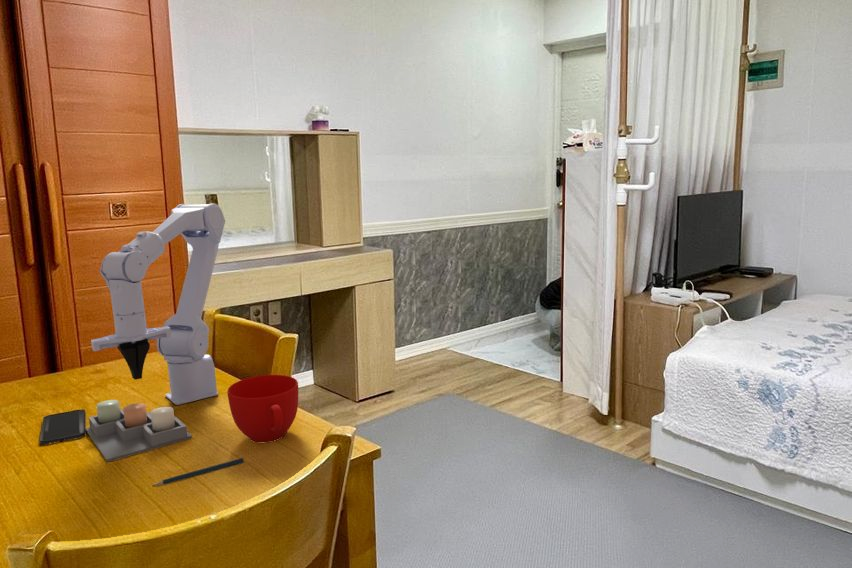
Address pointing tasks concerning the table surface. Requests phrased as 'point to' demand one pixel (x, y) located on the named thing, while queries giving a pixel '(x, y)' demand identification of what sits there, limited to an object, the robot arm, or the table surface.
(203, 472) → the pencil
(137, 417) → the terracotta key
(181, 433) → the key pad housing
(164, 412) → the ivory key
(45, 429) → the phone
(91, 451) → the table surface
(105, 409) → the pale green rounded block
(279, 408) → the ceramic cup
